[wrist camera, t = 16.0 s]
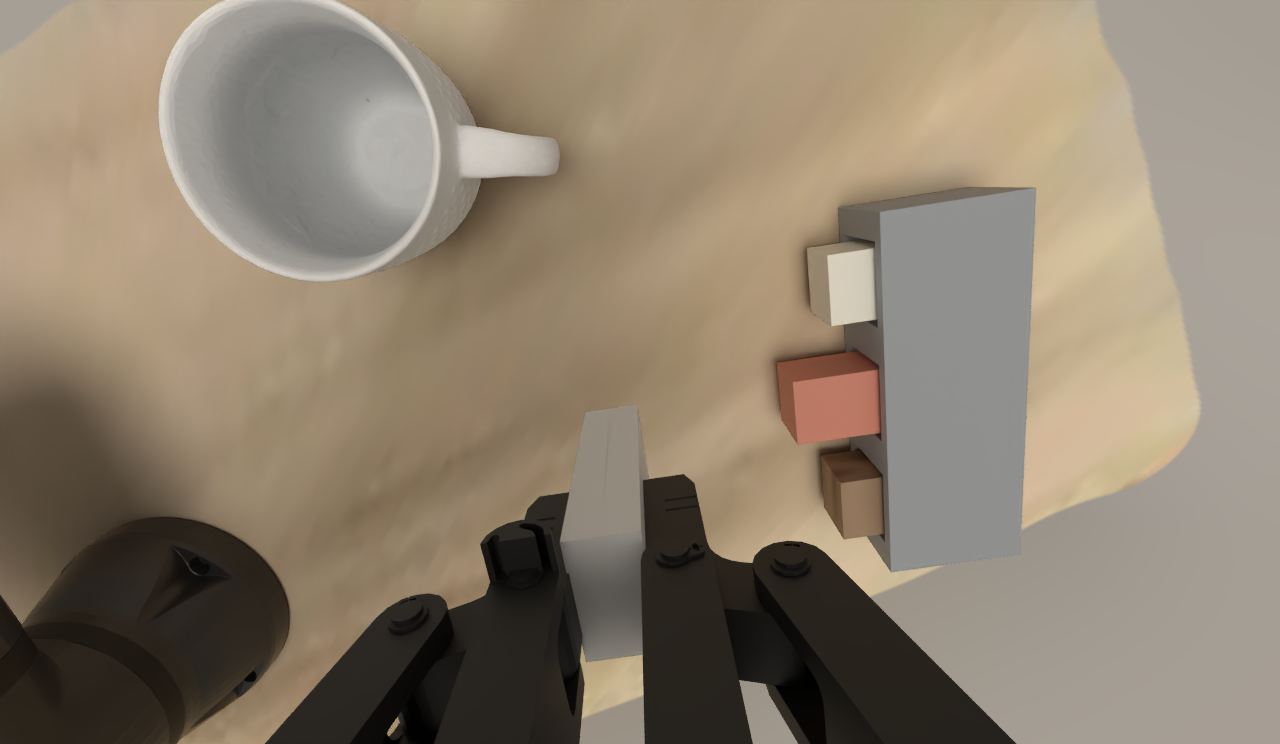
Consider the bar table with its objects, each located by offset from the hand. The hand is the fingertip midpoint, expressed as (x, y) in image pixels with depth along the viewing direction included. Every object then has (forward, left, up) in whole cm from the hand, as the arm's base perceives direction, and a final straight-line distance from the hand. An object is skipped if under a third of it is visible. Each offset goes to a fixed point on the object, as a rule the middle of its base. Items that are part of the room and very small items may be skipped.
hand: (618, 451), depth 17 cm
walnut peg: (+16, -14, -21) cm, 30 cm away
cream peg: (+16, 0, -21) cm, 27 cm away
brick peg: (+14, -7, -21) cm, 26 cm away
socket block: (+18, -7, -22) cm, 30 cm away
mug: (-10, +10, -23) cm, 27 cm away
